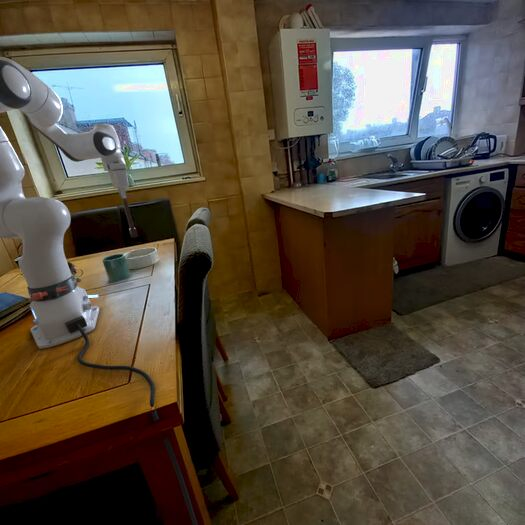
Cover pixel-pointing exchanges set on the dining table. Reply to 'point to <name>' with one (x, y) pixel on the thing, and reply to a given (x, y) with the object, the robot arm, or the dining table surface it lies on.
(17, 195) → the robot arm
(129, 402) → the dining table surface
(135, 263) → the bowl
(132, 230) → the stirring stick
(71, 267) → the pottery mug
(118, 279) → the utensil pot
